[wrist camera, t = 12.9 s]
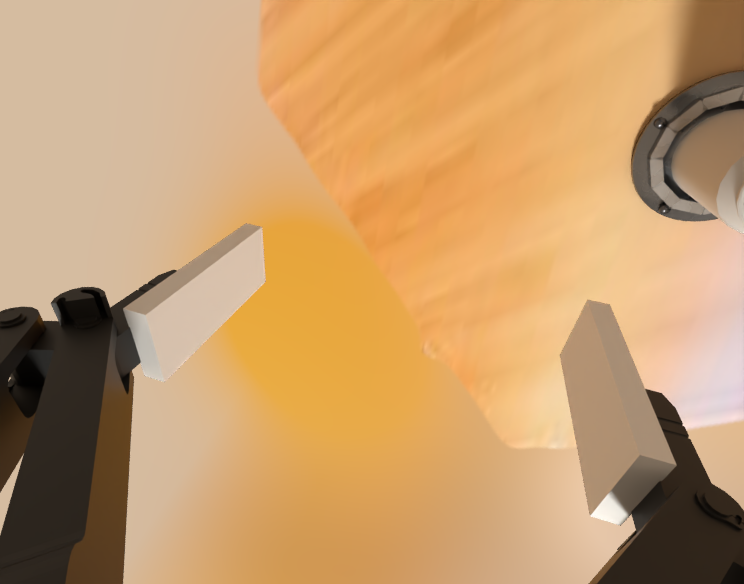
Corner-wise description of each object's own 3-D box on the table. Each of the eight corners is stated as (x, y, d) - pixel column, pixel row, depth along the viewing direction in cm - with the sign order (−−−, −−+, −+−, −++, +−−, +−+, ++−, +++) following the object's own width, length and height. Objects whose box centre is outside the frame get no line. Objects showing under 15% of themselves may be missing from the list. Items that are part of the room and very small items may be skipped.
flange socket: (625, 104, 36) (630, 106, 34) (818, 42, 30) (832, 42, 29) (636, 232, 41) (640, 238, 40) (801, 198, 36) (813, 204, 34)
